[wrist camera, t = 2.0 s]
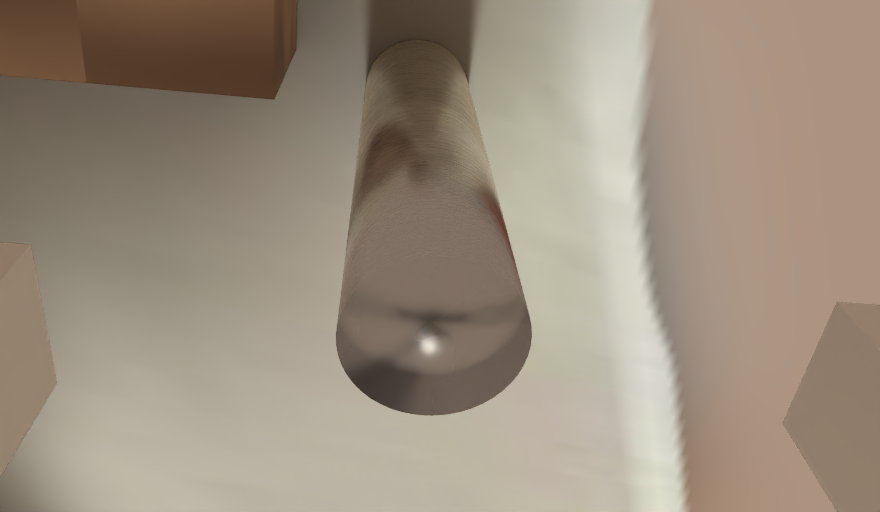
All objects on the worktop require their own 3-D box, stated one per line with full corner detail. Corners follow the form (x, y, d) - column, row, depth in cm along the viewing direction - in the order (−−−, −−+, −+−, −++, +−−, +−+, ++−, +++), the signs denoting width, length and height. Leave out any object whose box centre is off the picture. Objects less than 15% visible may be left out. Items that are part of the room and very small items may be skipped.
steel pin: (461, 143, 26) (515, 419, 14) (363, 134, 26) (332, 410, 14) (473, 44, 25) (547, 263, 12) (368, 34, 24) (340, 249, 12)
